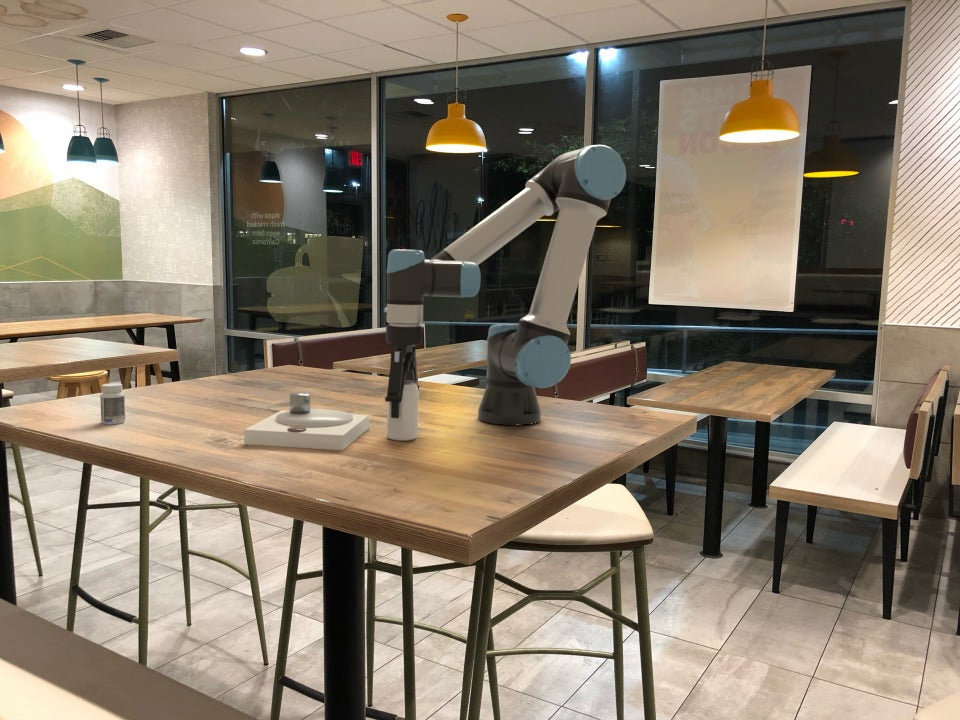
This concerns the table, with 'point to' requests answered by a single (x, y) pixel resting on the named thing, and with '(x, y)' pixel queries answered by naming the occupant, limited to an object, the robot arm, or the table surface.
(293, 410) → the cylinder
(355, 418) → the scale
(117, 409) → the pill bottle
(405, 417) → the can
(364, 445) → the table surface
